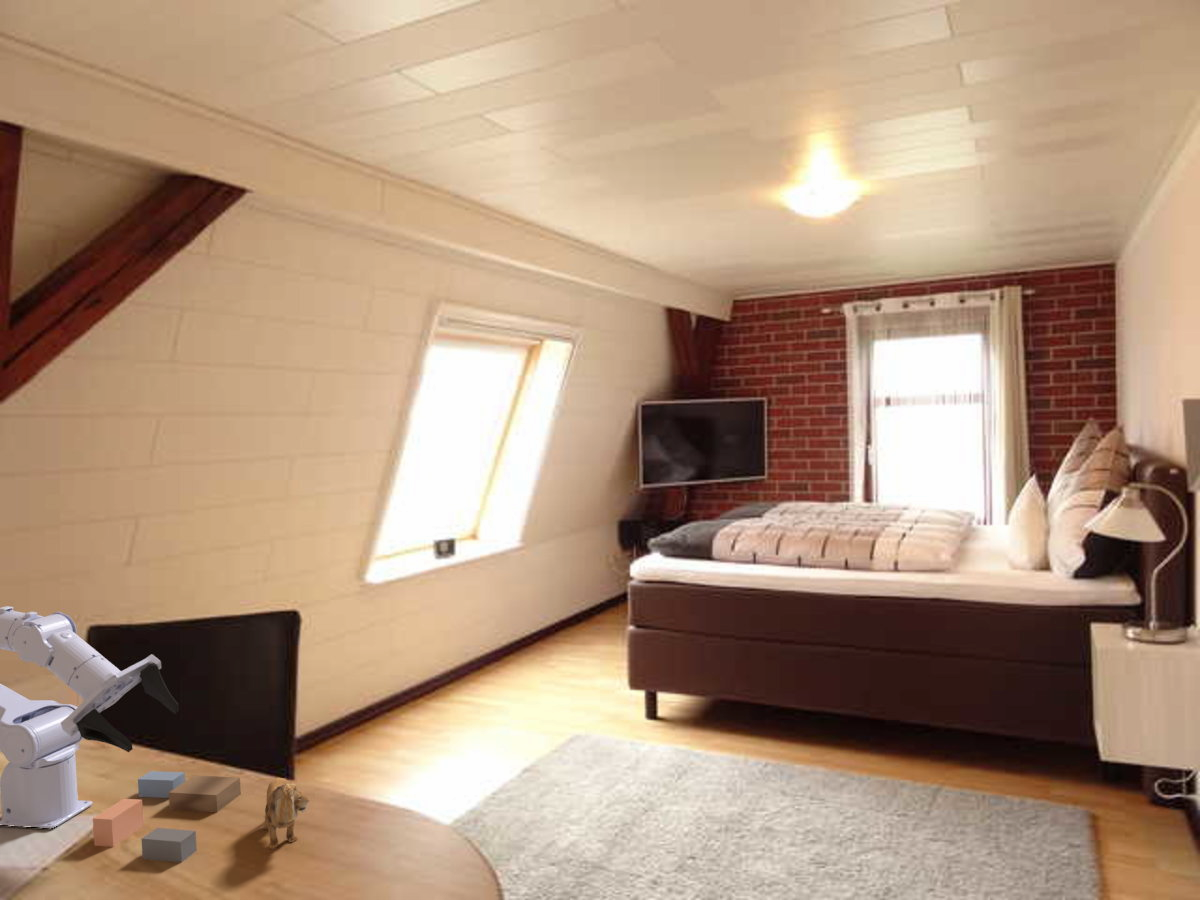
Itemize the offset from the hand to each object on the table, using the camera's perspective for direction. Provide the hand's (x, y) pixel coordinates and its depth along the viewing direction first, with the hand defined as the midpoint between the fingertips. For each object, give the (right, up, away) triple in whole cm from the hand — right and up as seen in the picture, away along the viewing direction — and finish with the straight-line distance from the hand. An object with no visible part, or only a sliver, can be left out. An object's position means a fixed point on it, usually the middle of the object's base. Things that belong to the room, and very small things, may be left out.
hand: (154, 727), depth 121 cm
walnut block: (+3, -15, +10) cm, 18 cm away
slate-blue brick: (-6, -15, +13) cm, 21 cm away
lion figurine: (+19, -15, -1) cm, 24 cm away
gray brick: (+5, -15, -6) cm, 17 cm away
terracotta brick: (-5, -15, 0) cm, 16 cm away
